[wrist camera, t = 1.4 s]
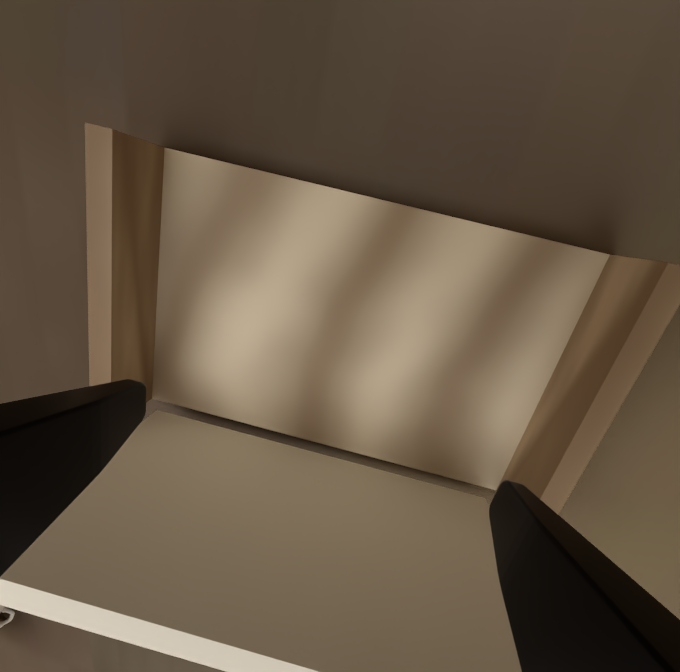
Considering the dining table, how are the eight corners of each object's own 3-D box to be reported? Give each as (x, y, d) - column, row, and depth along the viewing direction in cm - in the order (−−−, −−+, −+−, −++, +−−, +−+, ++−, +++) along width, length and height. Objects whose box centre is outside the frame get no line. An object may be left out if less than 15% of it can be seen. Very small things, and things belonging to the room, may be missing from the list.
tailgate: (485, 497, 18) (581, 747, 9) (474, 522, 18) (554, 779, 10) (156, 409, 18) (-35, 568, 10) (155, 435, 19) (-28, 607, 10)
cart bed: (615, 257, 15) (699, 270, 11) (506, 479, 19) (540, 546, 15) (159, 148, 16) (84, 122, 12) (148, 383, 20) (90, 424, 16)
